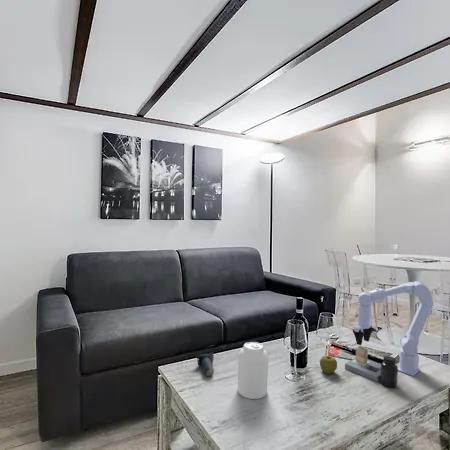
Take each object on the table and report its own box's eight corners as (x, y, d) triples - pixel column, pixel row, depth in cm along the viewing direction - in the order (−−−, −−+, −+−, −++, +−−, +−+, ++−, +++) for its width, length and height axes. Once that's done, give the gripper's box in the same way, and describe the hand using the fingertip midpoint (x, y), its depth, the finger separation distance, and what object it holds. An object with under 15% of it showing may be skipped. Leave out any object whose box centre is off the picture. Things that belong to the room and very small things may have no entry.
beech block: (359, 359, 163) (360, 345, 163) (367, 362, 160) (367, 348, 160) (355, 361, 160) (356, 347, 160) (363, 364, 157) (363, 350, 157)
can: (269, 386, 140) (271, 341, 139) (263, 402, 128) (265, 353, 127) (242, 381, 144) (243, 337, 143) (233, 396, 132) (235, 348, 131)
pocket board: (359, 360, 167) (359, 355, 167) (390, 372, 155) (391, 367, 155) (344, 368, 158) (345, 363, 158) (377, 382, 146) (377, 376, 146)
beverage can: (197, 368, 158) (203, 382, 146) (195, 354, 157) (200, 366, 145) (215, 363, 160) (222, 376, 149) (213, 348, 159) (219, 361, 147)
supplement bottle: (399, 389, 140) (400, 362, 140) (382, 387, 141) (383, 360, 141) (394, 381, 147) (395, 355, 146) (378, 379, 148) (379, 354, 148)
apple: (339, 376, 150) (339, 361, 150) (321, 375, 150) (322, 360, 150) (333, 368, 158) (334, 354, 158) (317, 368, 158) (318, 353, 158)
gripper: (363, 312, 172) (362, 337, 172) (349, 317, 163) (348, 343, 163) (376, 315, 166) (375, 341, 167) (362, 320, 157) (361, 348, 158)
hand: (362, 342), depth 165 cm, fingers open, 7 cm apart
